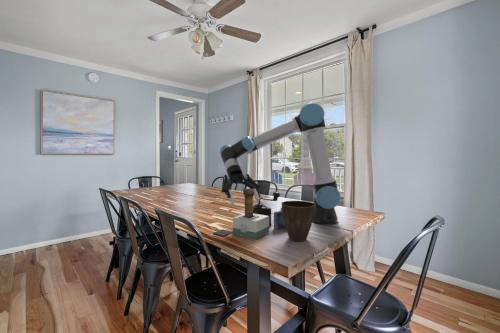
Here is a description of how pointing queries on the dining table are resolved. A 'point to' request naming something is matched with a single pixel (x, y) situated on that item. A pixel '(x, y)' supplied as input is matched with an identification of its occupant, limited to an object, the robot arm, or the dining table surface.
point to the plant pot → (298, 218)
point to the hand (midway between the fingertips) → (246, 201)
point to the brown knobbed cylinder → (248, 202)
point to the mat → (223, 232)
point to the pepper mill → (265, 207)
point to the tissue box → (251, 225)
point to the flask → (279, 220)
